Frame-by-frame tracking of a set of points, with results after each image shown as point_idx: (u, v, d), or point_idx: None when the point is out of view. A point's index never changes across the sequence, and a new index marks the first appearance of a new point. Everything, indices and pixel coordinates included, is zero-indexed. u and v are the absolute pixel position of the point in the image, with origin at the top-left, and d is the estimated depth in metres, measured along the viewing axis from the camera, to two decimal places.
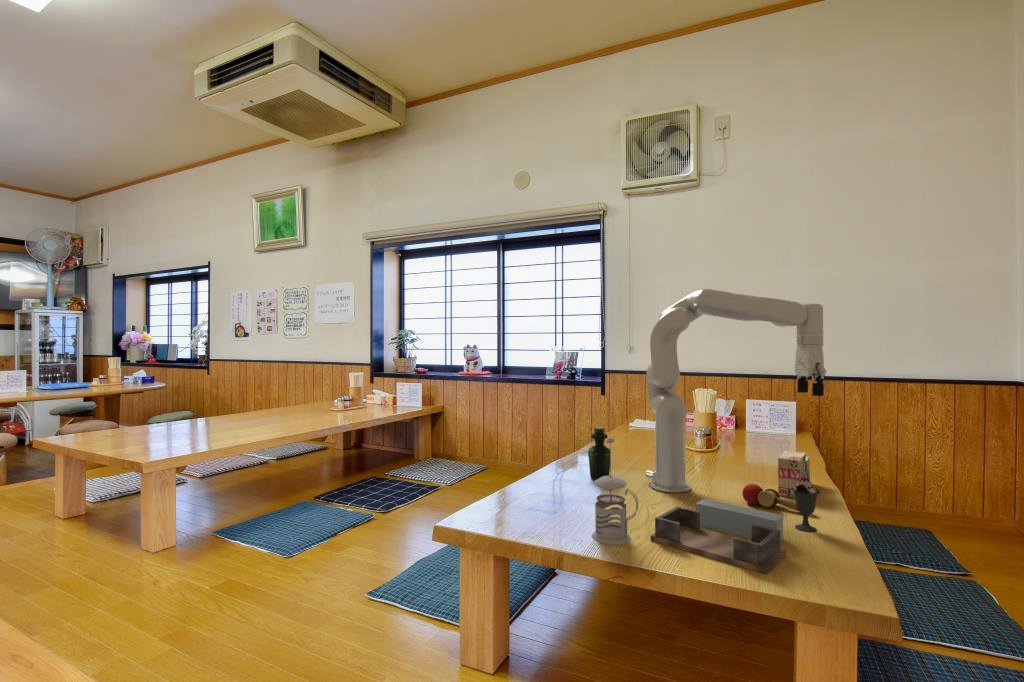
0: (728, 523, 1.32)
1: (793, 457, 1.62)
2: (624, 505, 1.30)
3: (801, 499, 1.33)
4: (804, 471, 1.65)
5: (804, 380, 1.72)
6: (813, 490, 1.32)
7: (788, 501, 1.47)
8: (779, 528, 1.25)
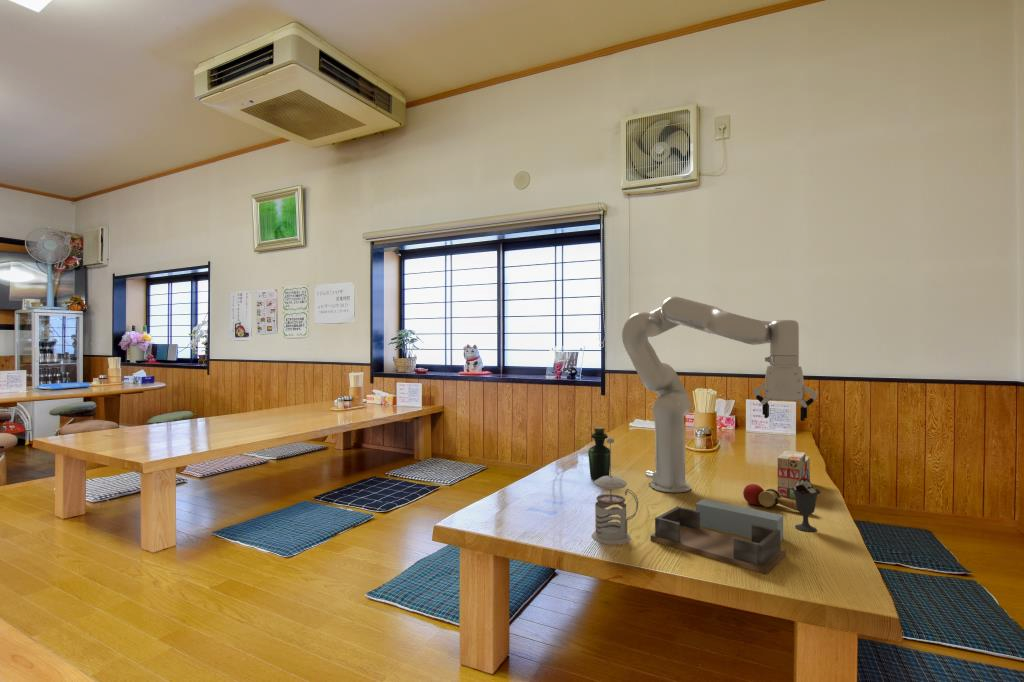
0: (728, 523, 1.32)
1: (792, 457, 1.62)
2: (624, 505, 1.30)
3: (801, 499, 1.33)
4: (804, 471, 1.65)
5: (767, 404, 1.56)
6: (813, 490, 1.32)
7: (789, 501, 1.47)
8: (779, 528, 1.25)
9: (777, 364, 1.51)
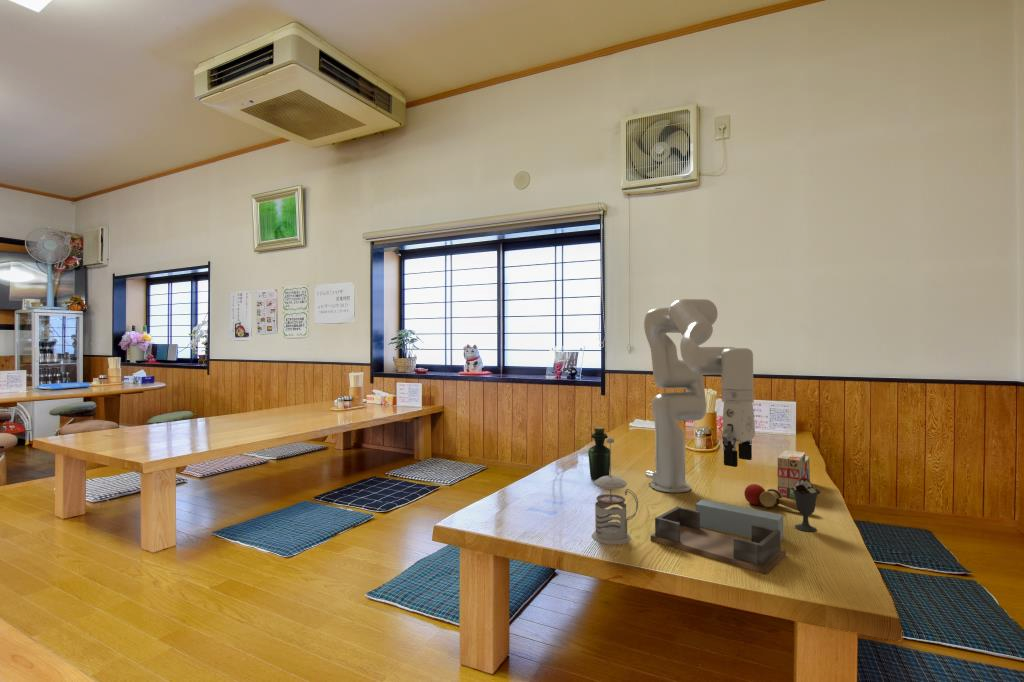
0: (728, 523, 1.31)
1: (792, 457, 1.62)
2: (624, 505, 1.30)
3: (801, 499, 1.33)
4: (804, 471, 1.65)
5: None
6: (813, 490, 1.32)
7: (790, 501, 1.47)
8: (780, 527, 1.26)
9: (750, 400, 1.29)
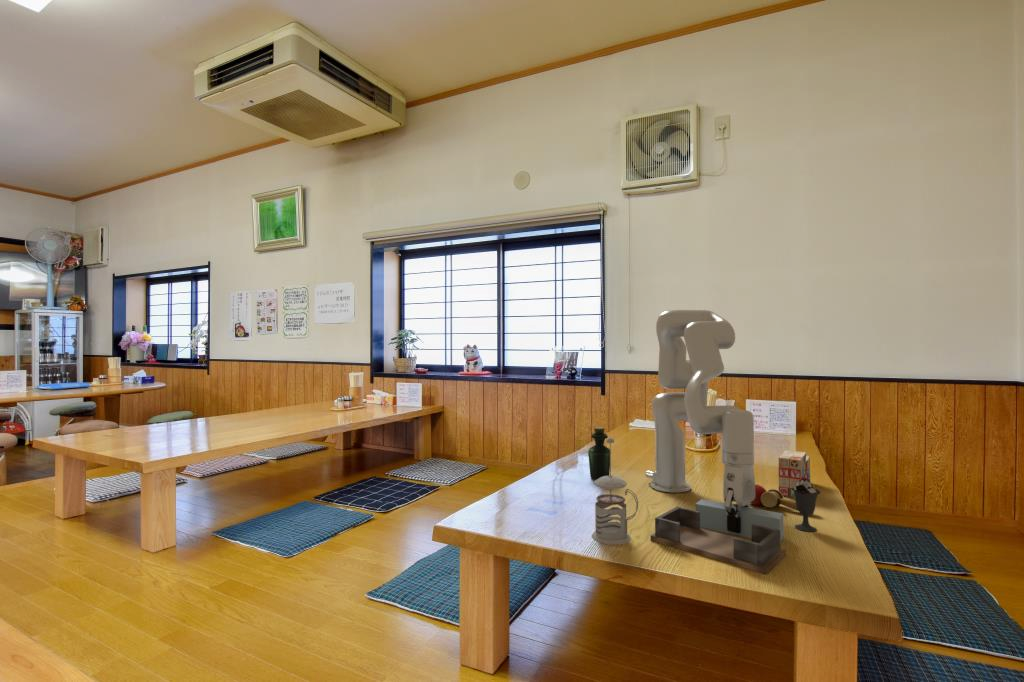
0: None
1: (793, 457, 1.62)
2: (624, 505, 1.30)
3: (801, 499, 1.33)
4: (804, 471, 1.65)
5: None
6: (813, 490, 1.32)
7: (791, 502, 1.47)
8: (781, 526, 1.26)
9: (750, 464, 1.29)
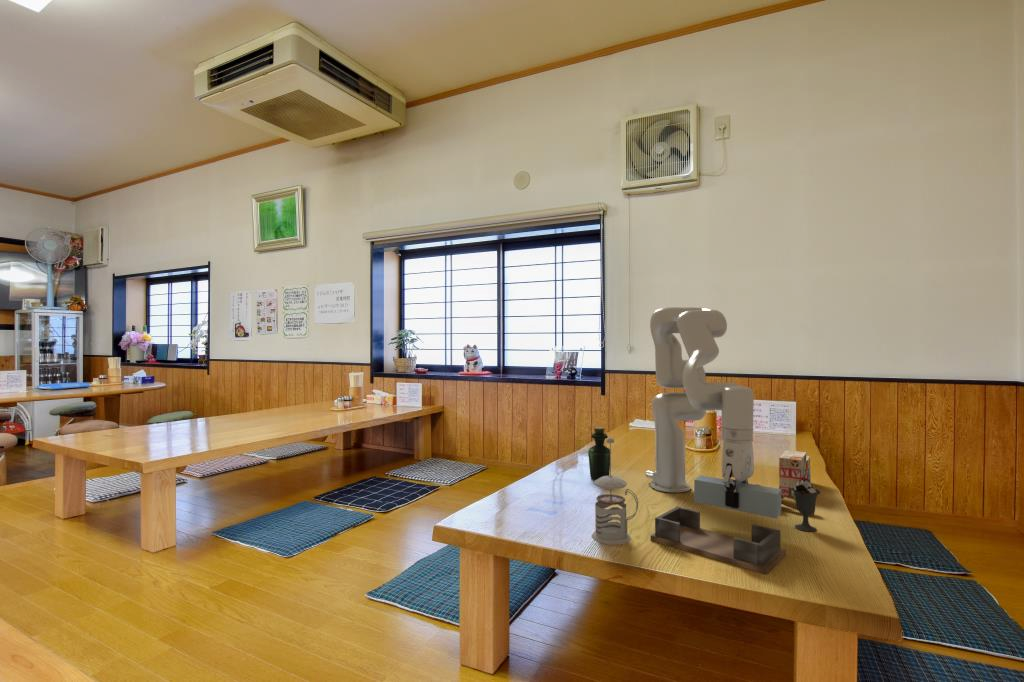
0: None
1: (794, 457, 1.62)
2: (624, 505, 1.30)
3: (801, 499, 1.33)
4: None
5: None
6: (813, 490, 1.32)
7: (792, 502, 1.47)
8: (779, 501, 1.27)
9: (749, 439, 1.29)
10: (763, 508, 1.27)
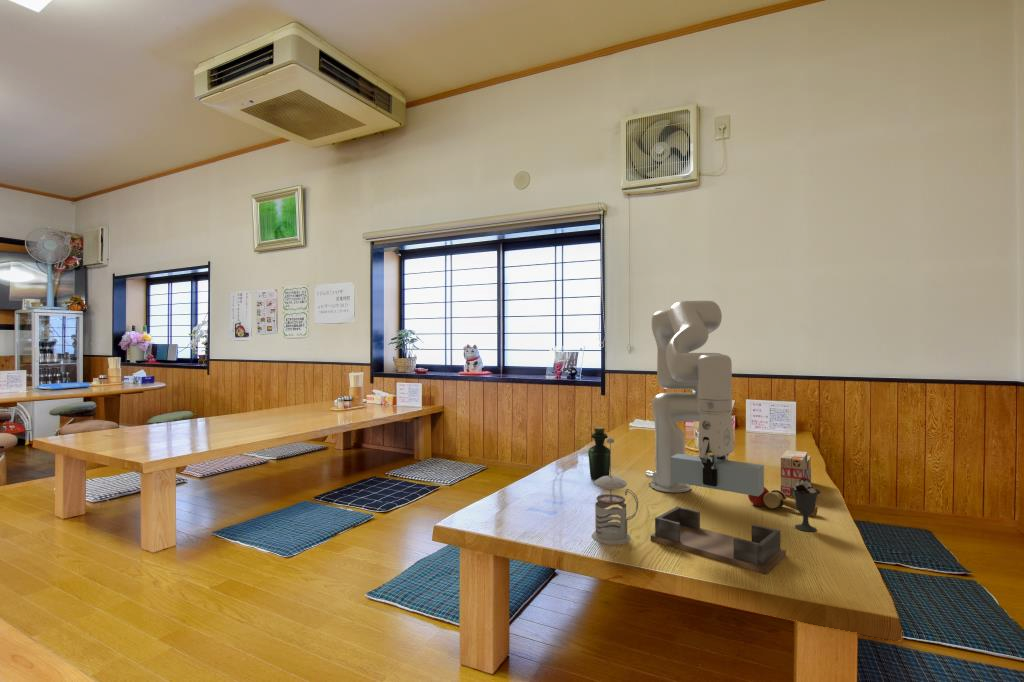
0: None
1: (795, 456, 1.63)
2: (624, 505, 1.30)
3: (801, 499, 1.33)
4: None
5: None
6: (813, 490, 1.32)
7: (794, 503, 1.46)
8: (760, 478, 1.16)
9: (727, 411, 1.19)
10: (743, 485, 1.16)
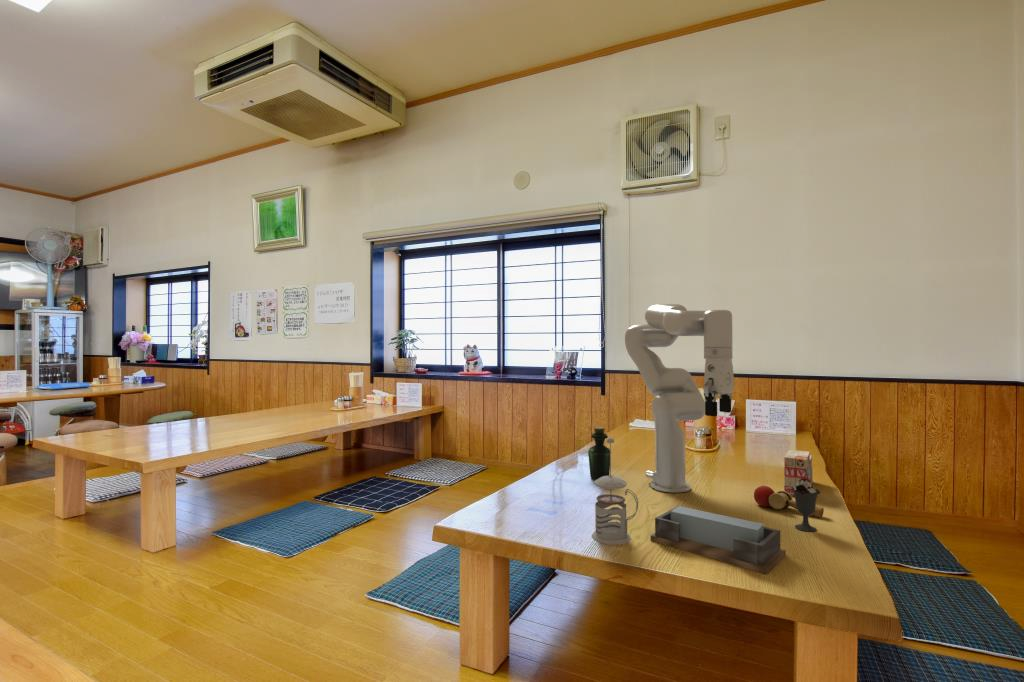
0: (705, 533, 1.21)
1: (799, 456, 1.63)
2: (624, 505, 1.30)
3: (801, 499, 1.33)
4: None
5: None
6: (813, 490, 1.32)
7: None
8: (760, 538, 1.16)
9: (729, 356, 1.42)
10: None
